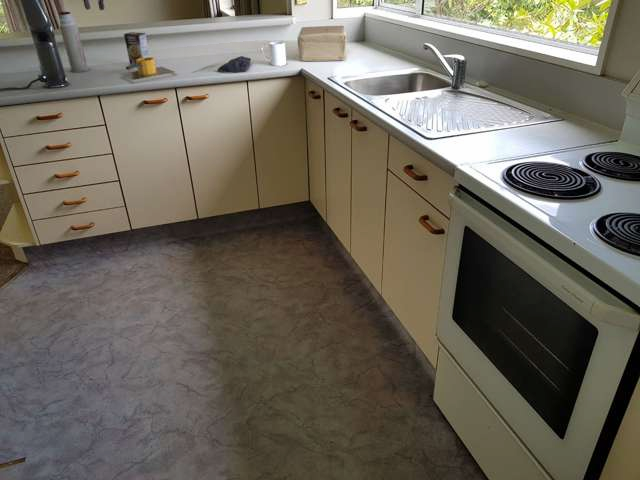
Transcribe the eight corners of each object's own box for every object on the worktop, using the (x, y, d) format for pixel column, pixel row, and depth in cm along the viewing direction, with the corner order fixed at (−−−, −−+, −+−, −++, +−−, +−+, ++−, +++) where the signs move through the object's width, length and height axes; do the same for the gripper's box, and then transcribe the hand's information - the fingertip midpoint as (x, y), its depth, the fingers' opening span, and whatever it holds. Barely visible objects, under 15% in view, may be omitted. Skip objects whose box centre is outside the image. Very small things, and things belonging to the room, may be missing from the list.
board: (133, 83, 239) (132, 79, 238) (120, 77, 250) (119, 74, 249) (176, 75, 251) (175, 71, 250) (162, 69, 261) (161, 66, 261)
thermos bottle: (91, 68, 267) (76, 10, 252) (82, 72, 260) (66, 13, 246) (77, 68, 268) (62, 10, 254) (68, 72, 262) (52, 13, 247)
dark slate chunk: (256, 62, 270) (255, 53, 267) (245, 72, 251) (245, 62, 249) (228, 62, 272) (227, 53, 269) (216, 72, 253) (214, 62, 251)
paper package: (301, 51, 291) (300, 25, 284) (346, 50, 290) (346, 24, 283) (297, 62, 268) (296, 34, 261) (346, 61, 267) (346, 33, 260)
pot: (146, 70, 254) (143, 56, 251) (159, 71, 251) (157, 57, 248) (122, 78, 241) (119, 64, 238) (136, 79, 238) (133, 65, 235)
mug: (286, 62, 269) (285, 41, 263) (285, 65, 262) (283, 44, 257) (263, 62, 269) (262, 41, 264) (261, 66, 263) (259, 44, 257)
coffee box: (129, 66, 270) (123, 34, 261) (137, 63, 275) (130, 31, 267) (144, 67, 267) (138, 34, 259) (151, 64, 273) (145, 32, 264)
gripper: (67, -29, 229) (77, 10, 238) (91, -29, 224) (101, 11, 233) (80, -30, 235) (89, 8, 244) (104, -30, 230) (112, 9, 239)
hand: (95, 9), depth 238 cm, fingers open, 8 cm apart
